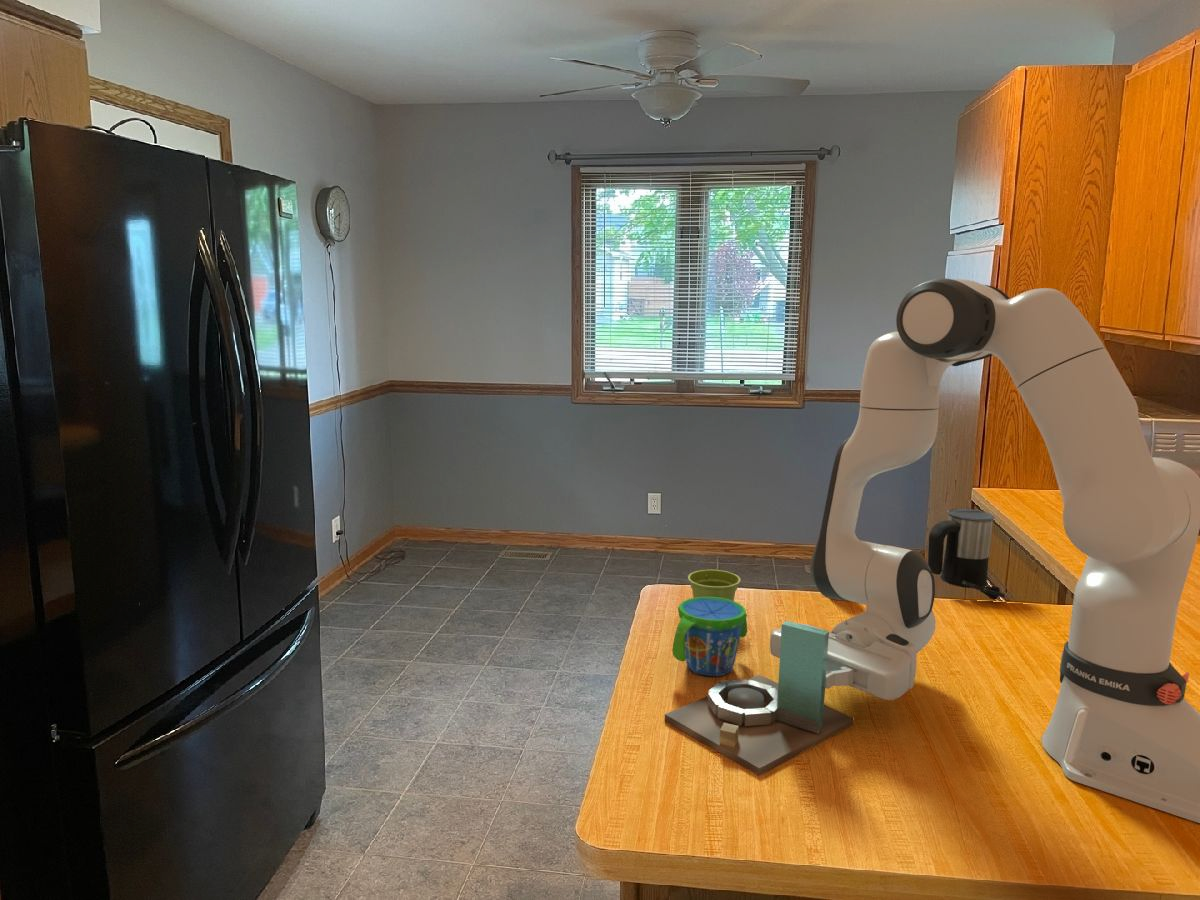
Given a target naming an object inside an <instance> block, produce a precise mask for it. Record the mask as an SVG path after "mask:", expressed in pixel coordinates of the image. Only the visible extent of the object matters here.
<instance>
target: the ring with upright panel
mask: <svg viewBox="0 0 1200 900" xmlns="http://www.w3.org/2000/svg"><path fill="white" fill-rule="evenodd" d="M802 624H803V623H797V622H793V621H788V620H785V621H784V622H783V623H781V627H780V628H781V645H780V658H779V663H778V665H779V666H778V682H777V683H778V691H777V690H776V689H775V688H772V686H770V685H766V684H763V683H760V682H756V681H753V680H748V681H747V680H746V678H744V679H743V678H741V679H730V680H722V681H719V682H717V683H716V684H715V685H714V686H713V687H711V688H710V689H709V690H707V696H708V705H709V707H710V708H711V710H712V712H713V713H714V715H715V716H718V718H720V719H723V720H726V721H729V722H732V723H735V724H738V725H741V726H742V725H743V724H744V725H745V726H753V725H766V724H770V722H771V723H774V722H775V721H776V720H778V721H781V722H784V723H787V724H790V725H793V726H796V727H799V728H802V729H806V730H809V731H812V732H815V733H819V732H820V731H821V730H822V728H823V713H824V705H825V697H826V696H825V695H826V688H825V683H826V669H827V654H828V639H829V632H830V631H829V630H825V629H823V628H820V629H818V628H819V627H817V628H814V627H815V626H814V627H810V626H806V625H802ZM822 629H823V630H822ZM736 688H750V689H754V690H757V691H759V692H760V693H761V694H762V695H763V696H764V700H766V701H767V703H768V704H769V705H768V706H766V707H765V708H755V709H742V708H739V707H736V706H733V705H729V704H726V703H724V701H723V699H724V698H725V697H727V696H728V693H729V692H730V691H731V690H733V689H736Z"/></svg>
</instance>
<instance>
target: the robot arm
mask: <svg viewBox="0 0 1200 900" xmlns="http://www.w3.org/2000/svg"><path fill="white" fill-rule="evenodd" d="M895 320H896V322H895V323H896V324H895V325H896V329H897V330H896V331H891V332H888V333H885V334H883V335H881V336H879V337H877V338H876V339H875V340H874V341H873V342H872V343H871V345H870V346H869V348H868V350H867V354H866V359H865V363H864V367H863V371H862V378H861V386H860V387H861V388H860V397H859V413H858V418H857V422H856V425H855V427H854V430H853V432H852V434H851V435H850V437H848V438H847V439H845V440H843V441H842V443H840V445H839V447H838V450H837V452H836V455H835V459H834V462H833V466H832V470H831V473H830V478H829V479H830V481H829V484H828V489H827V494H826V500H825V504H824V505H825V506H824V510H823V515H822V516H823V517H822V520H821V526H820V529H819V535H818V538H817V541H816V544H815V547H814V550H813V552H812V555H811V557H810V558H811V559H810V564H809V572H810V576H811V579H812V581H813V583H814V585H815V587H816V589H817V590H818V591H819V592H820V593H821V595H822V596H823V597H825V598H827V599H831V600H836V599H838V600H837V601H846V602H854V603H857V604H861V605H864V606H865V605H866V608H865V610H864V611H863V612H862V613H859V614H857V615H854V616H852V617H850V618H848V619H845V620H842V621H841V622H839V623H837V624H836V625H835V626H834V627H833V628H832V630H831V631H829V639H828V654H827V669H826V683H825V689H830V688H832V687H846V686H847V687H848V686H849V687H852V688H853V689H857V690H859V691H861V692H864V693H866V694H869V695H871V696H874V697H877V698H879V699H881V700H886V701H887V700H888V701H894V700H897V699H899V698H900V697H902V696H903V695H905V694H906V693H907V692H908V690H911V689H912V688H913V687H914V684H915V679H916V674H917V663H918V662H917V658H918V657H917V656H918V655H917V654H918V653H919V652H921V651H922V650H923V649H924V648H925V647H926V646H927V645H928V643H930V641H931V639H932V638H933V636H934V634H935V631H936V617H935V614H934V611H933V607H934V601H935V594H936V584H935V577H934V573H932V572H931V569H930V567H929V565H928V561H927V560H926V559H925V557H924V556H923V555H922V554H921V553H920V552H919V551H917V550H913V549H907V548H903V547H898V546H895V545H893V546H892V545H889V544H888V545H887V544H886V545H885V544H879V543H875V542H871V541H866V540H865V541H864V540H861V539H859V538H858V537H857V534H856V528H857V522H858V518H859V511H860V509H861V503H862V498H863V494H864V493H863V492H864V489H865V487H866V485H867V483H868V482H869V481H870V480H871V479H872V478H874V477H875V476H877V475H880V474H881V473H885V472H888V471H892V470H895V469H899V468H903V467H905V466H907V465H911V464H913V463H915V462H916V461H918V460H919V459H922V457H924V456H925V455H926V454H927V453H928V452H929V451H930V449H931V448H932V446H933V445H934V443H935V440H936V438H937V432H938V425H939V412H940V411H939V410H940V409H939V408H940V406H939V404H940V389H941V388H940V387H941V381H942V377H943V375H944V373H945V371H946V370H947V369H948V368H949V367H951V366H952V367H959V366H962V365H965V364H966V365H967V364H970V363H972V362H977V361H981V360H983V359H987V358H989V357H991V356H994V357H996V358H997V359H998V360H999V361H1000V362H1001V363H1002V365H1004V367H1005V369H1006V371H1007V373H1008V374H1009V376H1010V378H1011V380H1012V382H1013V384H1014V386H1015V388H1016V390H1017V392H1018V393H1019V395H1020V397H1021V398H1022V400H1023V402H1024V404H1025V407H1026V408H1027V410H1028V412H1029V414H1030V416H1031V418H1032V419H1033V421H1034V423H1035V426H1036V427H1037V429H1038V431H1039V434H1040V435H1041V437H1042V439H1043V441H1044V443H1045V446H1046V449H1047V452H1048V454H1049V459H1050V461H1051V464H1052V468H1053V471H1054V475H1055V478H1056V483H1057V484H1058V485H1057V486H1058V490H1059V493H1060V495H1061V500H1062V504H1063V510H1062V525H1063V529H1064V531H1065V534H1066V536H1067V537H1068V539H1069V541H1070V542H1071V543H1072V545H1073V546H1074V547H1075V548H1076V549H1077V550H1078V551H1079V552H1081V553H1082V554H1084V555H1085V556H1087V558H1086V560H1085V563H1084V566H1083V570H1082V572H1081V574H1080V577H1079V578H1078V580H1077V583H1076V584H1075V588H1074V593H1073V594H1074V595H1073V600H1072V601H1073V602H1072V609H1071V615H1070V617H1071V619H1070V623H1069V632H1068V641H1066V642H1064V646H1063V650H1062V653H1061V657H1060V664H1059V665H1060V666H1059V683H1060V687H1059V688H1060V689H1059V692H1058V697H1057V699H1056V702H1055V703H1056V704H1055V706H1054V710H1053V712H1052V716H1051V717H1050V720H1049V723H1048V725H1047V727H1046V729H1045V730H1044V732H1043V734H1042V736H1041V744H1042V747H1043V748H1044V750H1045V752H1047V754H1048V755H1049V756H1050V757H1051V758H1053V759H1054V760H1055V761H1056V762H1057V763H1058V764H1059V765H1060V766H1061V769H1062V772H1063V774H1064V775H1065V777H1067V778H1068V779H1069V780H1071V781H1073V782H1075V783H1079V784H1081V785H1085V786H1088V787H1091V788H1094V789H1097V790H1099V791H1102V792H1106V793H1109V794H1111V795H1115V796H1117V797H1120V798H1124V799H1126V800H1129V801H1133V802H1135V803H1137V804H1138V803H1139V804H1140V805H1144V806H1148V807H1149V808H1153V809H1156V810H1158V811H1162V812H1165V813H1168V814H1171V815H1174V816H1177V817H1180V818H1183V819H1186V820H1189V821H1193V822H1194V823H1198V824H1200V712H1199V711H1198V710H1197V709H1196V708H1195V707H1193V705H1191V704H1190V702H1189V701H1188V700H1187V699H1185V695H1186V688H1187V684H1188V683H1189V677H1190V672H1188V671H1186V673H1184V674H1183V675H1181V674H1180V672H1179V671H1178V670H1177V669H1176V668H1175V667H1174V666H1173V664H1172V663H1171V662H1170V661H1171V653H1172V650H1173V649H1172V648H1173V641H1174V635H1175V629H1176V623H1177V617H1178V611H1179V610H1178V609H1179V607H1180V606H1179V605H1180V601H1181V597H1182V593H1183V591H1184V587H1185V583H1186V581H1187V578H1188V574H1189V572H1190V567H1191V563H1192V560H1193V556H1194V554H1195V549H1196V545H1197V541H1198V537H1199V533H1200V476H1199V474H1197V473H1196V472H1195V471H1194V470H1193V469H1191V467H1188V466H1187V465H1186V464H1183V463H1181V462H1178V461H1175V460H1172V459H1169V458H1164V457H1154V456H1153V457H1152V454H1151V453H1150V450H1149V447H1148V443H1147V441H1146V438H1145V434H1144V431H1143V428H1142V425H1141V421H1140V417H1139V406H1138V404H1137V401H1136V399H1135V398H1134V396H1133V394H1132V392H1131V390H1130V389H1129V387H1128V385H1127V384H1126V382H1125V380H1124V379H1123V377H1122V375H1121V373H1120V371H1119V370H1118V368H1117V366H1116V363H1114V361H1113V359H1112V358H1111V355H1110V354H1109V352H1108V350H1107V348H1106V347H1105V345H1104V344H1103V342H1102V340H1101V339H1100V338H1099V336H1098V334H1097V333H1096V331H1095V330H1094V329H1093V326H1092V325H1091V324H1090V323H1089V321H1088V320H1087V319H1086V317H1085V316H1084V315H1083V314H1082V312H1081V311H1080V310H1079V308H1077V307H1076V306H1075V304H1074V303H1073V302H1072V301H1071V300H1070V298H1069V297H1067V296H1066V294H1065V293H1064V292H1061V291H1059V290H1057V289H1055V288H1051V287H1048V288H1047V287H1043V288H1041V287H1040V288H1033V289H1029V290H1027V291H1023V292H1022V293H1019V294H1017V295H1015V296H1014V297H1010V296H1009V295H1008V294H1006V293H1005V292H1004V291H1003V290H1001V289H1000V288H997V287H995V286H993V285H987V284H982V283H979V282H977V281H974V280H970V279H960V278H959V279H958V278H955V279H954V278H953V279H952V278H944V277H943V278H935V279H931V280H927V281H925V282H922V283H919V284H918V285H917V286H915V287H913V288H912V289H911V290H910V291H908V293H906V295H905V296H904V297H903V299H902V300H901V302H900V304H899V306H898V308H897V313H896V318H895ZM801 624H802V625H806V626H810V627H814V628H818V629H822V630H824V629H823V628H819V627H817V626H814V625H811V624H806V623H801ZM780 645H781V627H779V628H776V629H774V630H772V631H771V633H770V637H769V650H770V654H771V656H773V657H776V658H779V659H780Z"/></svg>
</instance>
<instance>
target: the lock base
mask: <svg viewBox="0 0 1200 900" xmlns="http://www.w3.org/2000/svg"><path fill="white" fill-rule="evenodd" d="M745 679H746V678H745ZM746 680H747V681H748V680H753V681H756V682H760V683H763V684H766V685H770V686H772V688H775V689H776V690H777V691H778V682H776V681H774V680H772V679H769V678H767V677H765V676H763V675H761V674H756V675H754V676H752V677H751V676H750V677H749V678H747V679H746ZM723 701H724V703H726V704H729V705H733V706H736V707H739V708H742V709H755V708H765V707H766V706H768V705H769V704H768V703H767V701H766V700H764V696H763V695H762V694H761V693H760V692H759V691H757V690H754V689H750V688H736V689H733V690H731V691H730V692H729V693H728V696H727V697H725V698H724V699H723ZM664 722H666V723H668V724H670V725H671V726H673V727H675V728H676V729H678V730H680V731H682V732H683V733H685V734H687V735H688V736H690V737H692V738H694V739H695V740H696V741H699V742H701V743H702V744H704V745H706V746H708V747H709V748H711V749H713V750H714V751H716V752H718V753H720V754H721V755H723V756H725V757H727V758H729V759H730V760H732V761H733V762H735V763H737V764H739V765H740V766H742V767H743V768H745V769H747V770H749V771H750V772H752V773H754V774H756V775H757V776H762V775H763V774H766V772H769V771H770V770H772V769H775V768H776V767H778V766H780V765H782V764H783V763H785V762H787V761H788V760H791V759H792V758H794V757H795V756H798V755H800V754H802V753H804V752H805V751H807V750H809V749H811V748H813V747H815V746H816V745H819V744H820V743H822V742H824V741H825V740H827V739H830V738H831V737H833V736H835V735H836V734H839V733H840V732H842V731H845V730H846V729H848V728H850V727H851V726H853V725H854V717H852V716H850V715H848V714H846V713H843V712H842V711H839V710H837V709H835V708H832V707H830V706H828V705H826V704H824V713H823V728H822V730H821V731H820V732H819V733H815V732H812V731H809V730H806V729H802V728H799V727H796V726H793V725H790V724H787V723H784V722H781V721H778V720H776V721H775V722H774V723H771V722H770V724H766V725H753V726H745V725H744V724H743V725H742V726H741V725H738V724H735V723H732V722H729V721H726V720H723V719H720V718H718V716H715V715H714V713H713V712H712V710H711V708H710V707H709V705H708V695H706V696H703V697H702V698H700V699H698V700H695V701H692V702H691V703H688V704H685V705H683V706H681V707H678V708H676V709H674V710H671V711H669V712H666V713H664Z"/></svg>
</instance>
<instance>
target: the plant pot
mask: <svg viewBox="0 0 1200 900" xmlns="http://www.w3.org/2000/svg"><path fill="white" fill-rule="evenodd" d="M687 580H688V582H689V583H690V589H691V590H692V598H695V597H718V598H724V599H728V600H732V601H735V595H736V591H737V589H738V585H739V584H741V577H740V576H739V575H738V574H735V573H733V572H731V571H726V570H719V569H701V570H696V571H692V572H691V573H689V574H688V575H687Z"/></svg>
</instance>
